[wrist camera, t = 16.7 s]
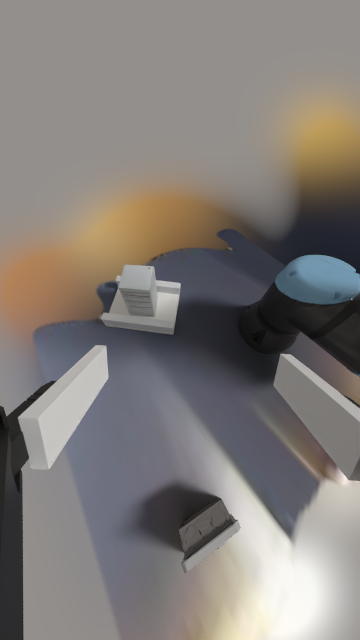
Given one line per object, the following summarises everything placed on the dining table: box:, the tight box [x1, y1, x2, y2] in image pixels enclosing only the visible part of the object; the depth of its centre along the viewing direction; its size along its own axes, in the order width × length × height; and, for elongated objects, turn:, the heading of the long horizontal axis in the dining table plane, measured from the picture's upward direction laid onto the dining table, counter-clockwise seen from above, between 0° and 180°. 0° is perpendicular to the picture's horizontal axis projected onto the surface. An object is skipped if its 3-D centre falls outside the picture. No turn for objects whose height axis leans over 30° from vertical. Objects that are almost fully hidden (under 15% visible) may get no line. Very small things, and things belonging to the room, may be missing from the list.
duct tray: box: [101, 276, 181, 335], centre depth 51 cm, size 19×15×4 cm
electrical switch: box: [178, 497, 241, 573], centre depth 29 cm, size 9×5×9 cm, turn 116°
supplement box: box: [118, 265, 158, 317], centre depth 46 cm, size 7×7×13 cm
